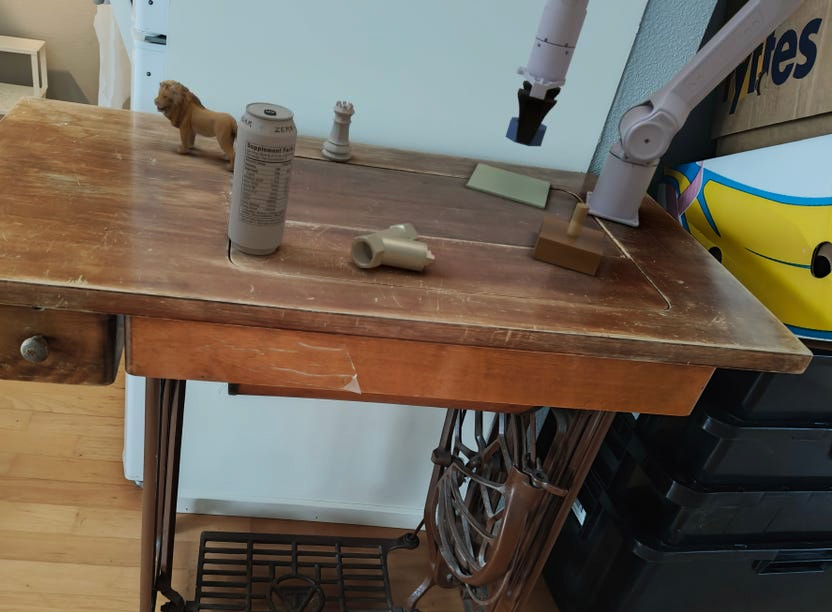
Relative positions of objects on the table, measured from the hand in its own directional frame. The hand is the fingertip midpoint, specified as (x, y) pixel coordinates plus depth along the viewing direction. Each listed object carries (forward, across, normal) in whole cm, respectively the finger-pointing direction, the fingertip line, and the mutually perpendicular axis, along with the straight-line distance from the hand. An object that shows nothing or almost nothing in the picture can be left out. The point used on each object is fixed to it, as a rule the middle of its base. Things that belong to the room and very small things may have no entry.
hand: (525, 137), depth 109 cm
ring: (0, 0, 0) cm, 0 cm away
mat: (+8, 0, 0) cm, 8 cm away
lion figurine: (+8, +24, -41) cm, 48 cm away
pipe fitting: (+8, +39, -9) cm, 41 cm away
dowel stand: (+8, +21, +10) cm, 24 cm away
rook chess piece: (+8, +9, -26) cm, 29 cm away
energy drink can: (+8, +44, -24) cm, 51 cm away
